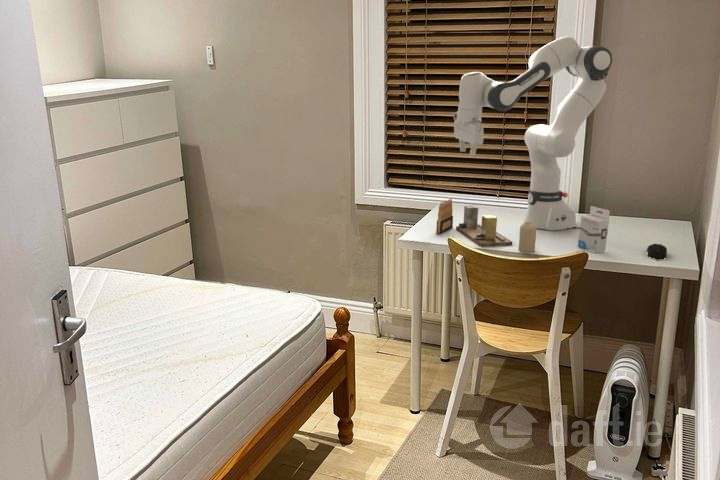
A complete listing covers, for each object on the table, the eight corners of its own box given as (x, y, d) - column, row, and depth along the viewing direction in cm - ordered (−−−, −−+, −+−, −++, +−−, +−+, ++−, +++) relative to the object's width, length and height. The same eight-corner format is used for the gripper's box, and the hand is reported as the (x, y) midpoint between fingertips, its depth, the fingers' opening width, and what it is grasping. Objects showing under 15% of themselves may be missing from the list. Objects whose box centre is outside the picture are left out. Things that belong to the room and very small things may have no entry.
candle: (524, 253, 237) (527, 225, 234) (515, 249, 242) (517, 221, 239) (537, 251, 239) (540, 223, 236) (528, 247, 244) (530, 220, 241)
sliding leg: (490, 236, 252) (492, 215, 249) (495, 239, 248) (497, 217, 246) (474, 237, 250) (475, 215, 248) (478, 240, 246) (480, 218, 244)
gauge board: (484, 227, 269) (486, 204, 266) (512, 244, 246) (514, 220, 244) (455, 229, 266) (457, 206, 263) (481, 247, 244) (482, 222, 241)
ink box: (576, 247, 244) (581, 207, 240) (586, 245, 247) (590, 205, 243) (596, 253, 237) (601, 212, 233) (605, 251, 240) (610, 210, 236)
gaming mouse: (647, 262, 230) (648, 250, 229) (646, 250, 243) (648, 239, 242) (667, 264, 228) (669, 253, 227) (665, 252, 241) (667, 241, 240)
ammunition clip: (440, 234, 259) (441, 203, 256) (436, 233, 260) (437, 202, 256) (452, 228, 268) (454, 198, 264) (448, 227, 269) (449, 197, 265)
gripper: (489, 119, 247) (486, 157, 251) (467, 113, 267) (465, 149, 270) (472, 120, 246) (470, 158, 250) (451, 113, 265) (450, 149, 269)
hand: (467, 153), depth 260 cm, fingers open, 8 cm apart
